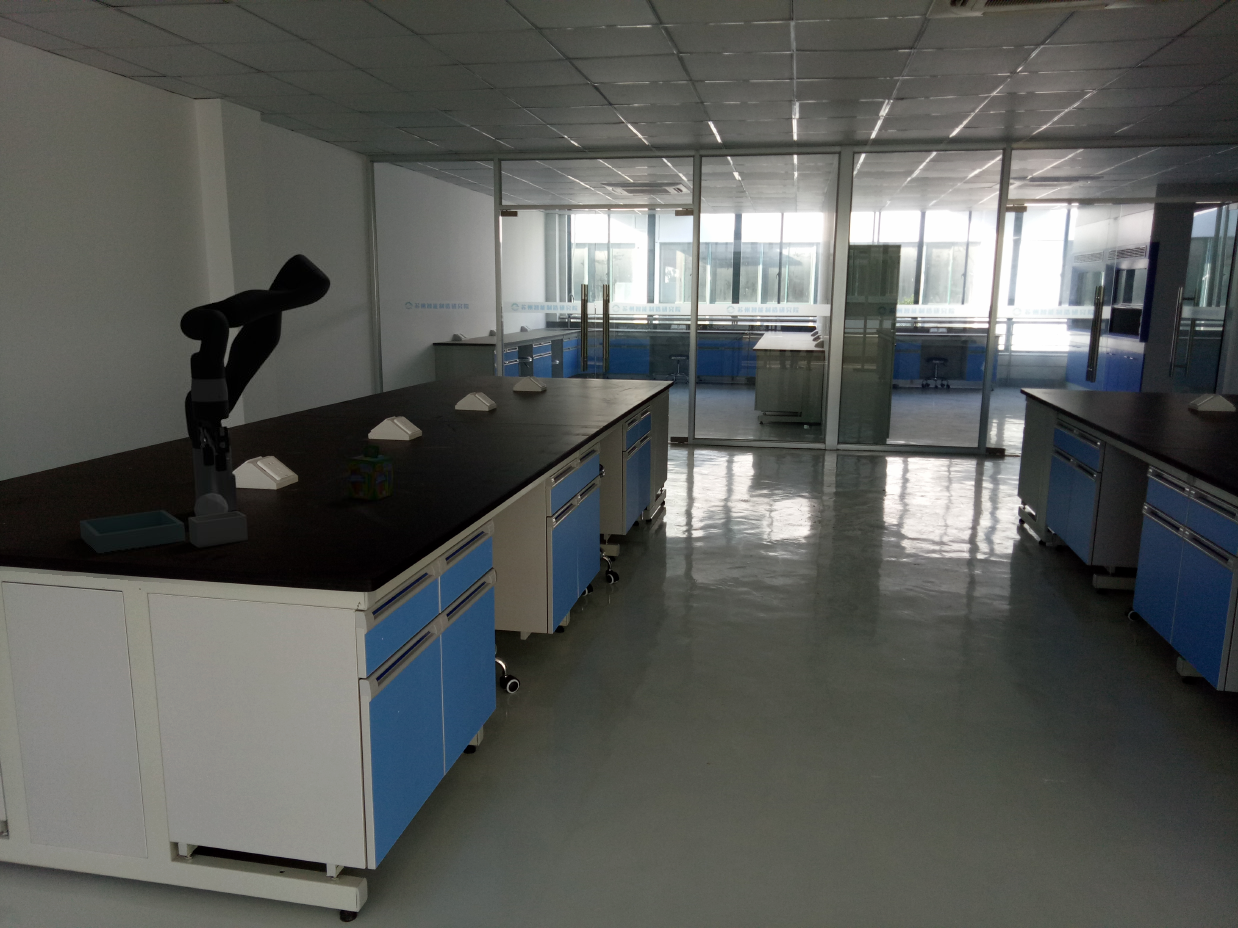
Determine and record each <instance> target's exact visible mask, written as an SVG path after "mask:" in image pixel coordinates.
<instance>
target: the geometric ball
mask: <svg viewBox="0 0 1238 928" xmlns="http://www.w3.org/2000/svg"><path fill="white" fill-rule="evenodd" d="M193 510H194V514H195V517H197V516H204V515H211V514H219V513H226V512H227V511H228V505H227V502H226V500H225V499H224V498H223V497H222V496H221V495H218V494H214V493H209V494H206V495H202V496H201V497H200V498H199V499H197V500H196V499H195V504H194V508H193Z"/></svg>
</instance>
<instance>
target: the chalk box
mask: <svg viewBox="0 0 1238 928" xmlns="http://www.w3.org/2000/svg"><path fill="white" fill-rule="evenodd" d="M370 450H373V451H374V453H373V454H372V453H369V451H370ZM363 452H364V453H363V455H358V456H354V457H349V458H348V460H347V461H348V497H349V498H351V499H359V500H365V501H366V500H367V501H373V502H375V501H377V500H381V499H384V498H386V497H391V496H393V495H394V487H393V486H394V482H393V481H394V480H393V479H394V477H393V475H394V472H393V471H394V470H393V468H394V467H393V462H394V461H393V460H394V459H393V457H392V456H389V455H382V454H380V453H379V452H380V446H379V445H374V444H373V445H370V444H366V445H365V446H364V451H363Z"/></svg>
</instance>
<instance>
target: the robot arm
mask: <svg viewBox="0 0 1238 928" xmlns="http://www.w3.org/2000/svg"><path fill="white" fill-rule="evenodd" d="M330 288H331V280H330V278H329V276H327V274H326V273H325V272H324V271H323V270H322V269H320V268H319V267H318V266H317V265H316V264H315V263H314V262H313V261H312V260H310V259H309V258H308V257H307V256H306V255H304V254H302V253H297V254H294V255H293V256H291V257H290V258H289V259H287V261H285V263H284V264H283V265H282V266H281V268H280V270H279V271H278V272H277V274H276V276H275V277H274V279H273V281H272V283H271V284H270V286H269V288H268V289H259V288H258V289H255V288H254V289H253V288H252V289H246V290H243V291H240V292H238V293H235V294H233V295H231V296H228V297H227V298H225V299H224V298H223V300H219V301H215V302H211V303H207V304H202V305H199V306H195V307H193V308H191V309H189V310H188V311H186V312H184V313H183V315H182V316H181V318H180V322H179V325H180V331H181V332H182V334H183V335H184V336H185V337H187V338H188V339H190V340H193V341H199V342H200V347H199V350H198V351H197V352H194V353H192V354H191V356H190V362H189V363H190V365H189V366H190V378H191V382H190V383H191V384H190V389H189V391H188V392H187V394H186V396H185V399H184V412H185V422H186V429H187V436H188V437H189V439H190V441H191V444H192V445H191V447H192V449H191V450H192V458H193V459H192V460H193V461H192V462H193V473H194V474H193V475H194V487H195V489H194V490H195V501H196V500H197V499H199V498H200V497H201V496H202V495H206V494H209V493H214V494H218V495H221V496H222V497H223V498H224V499H225V500H226V502H227V505H228V511H227V512H233V511H238V496H237V480H236V479H237V477H236V474H234V473H233V459H232V457H233V456H232V444H231V443H232V441H231V437H230V435H229V428H228V426H223V425H222V421H223V420H227V419H229V417H230V414H231V413H232V412H233V410H234V408H235V407H236V405H237V404H238V401H239V400H240V398H241V396H242V394H243V393H244V392H245V389H246V387H247V386H248V384H249V383H250V381H251V380H252V379H253V378H254V377H255V375H256V374H257V372H258V371H259V370H260V369H261V367H262V366H263V365H264V363H265V362H266V361H267V359H268V358H269V357H270V356H271V354H272V353H273V352H274V350H275V349H276V348H277V346H278V344H279V343H280V340H281V334H282V323H283V322H282V320H283V312H286V311H290V310H294V309H299V308H302V307H306V306H310V305H312V304H315V303H317V302H319V301H321V299H323V298H324V297H325V295H326V294H327V293H328V291H329V290H330ZM240 327H241V329H240V330H239V331H238V333H237V334H236V335H235V336H234V338H233V340H232V342H231V344H230V348H229V351H228V358H227V362H226V364H225V358H226V353H227V350H228V349H227V348H228V343H229V337H230V329H237V328H240Z"/></svg>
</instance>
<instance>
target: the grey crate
mask: <svg viewBox="0 0 1238 928" xmlns="http://www.w3.org/2000/svg"><path fill="white" fill-rule="evenodd" d="M247 522H248V521H247V515H245V514H244V513H242V512H240V511H239V510H232V511H229V512H226V513H219V514H211V515H204V516H197V517H196V516H190V517H188V531H189V543H191V544H192V545H193V546H195V547H196V548H207V547H211V546H217V545H218V546H219V545H223V544H231V543H236V542H241V541H248V540H249V538H248V536H249V535H248V523H247Z"/></svg>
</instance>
